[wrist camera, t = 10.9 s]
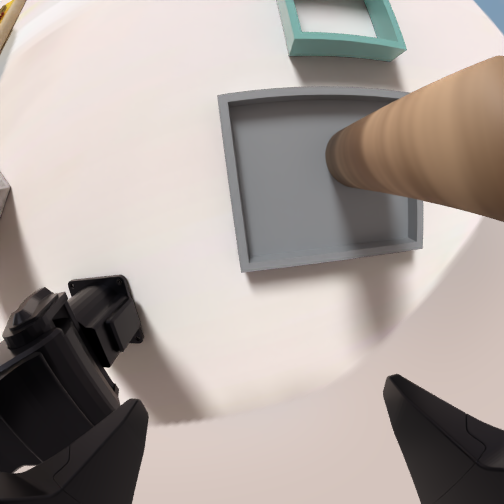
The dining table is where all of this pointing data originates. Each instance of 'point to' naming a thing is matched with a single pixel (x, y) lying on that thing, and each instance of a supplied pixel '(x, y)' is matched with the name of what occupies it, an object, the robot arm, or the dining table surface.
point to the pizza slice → (9, 19)
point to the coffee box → (3, 192)
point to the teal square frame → (345, 35)
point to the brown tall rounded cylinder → (432, 143)
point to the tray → (306, 180)
